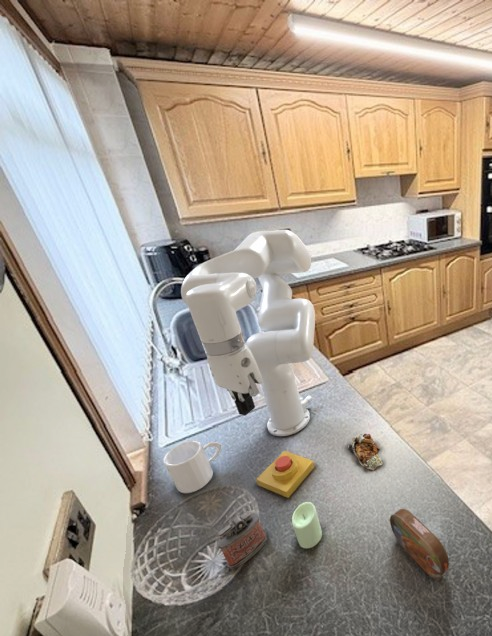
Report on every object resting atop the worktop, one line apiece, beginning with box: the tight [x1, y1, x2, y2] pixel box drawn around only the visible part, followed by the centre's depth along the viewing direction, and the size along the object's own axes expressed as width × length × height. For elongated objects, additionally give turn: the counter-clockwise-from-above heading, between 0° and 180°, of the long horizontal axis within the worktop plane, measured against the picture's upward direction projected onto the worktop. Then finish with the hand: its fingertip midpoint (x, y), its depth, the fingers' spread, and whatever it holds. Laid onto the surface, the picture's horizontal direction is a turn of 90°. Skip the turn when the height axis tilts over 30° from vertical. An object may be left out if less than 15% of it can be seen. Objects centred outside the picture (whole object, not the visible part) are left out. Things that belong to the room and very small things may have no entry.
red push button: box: [275, 456, 292, 472], centre depth 88 cm, size 4×4×2 cm
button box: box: [255, 450, 316, 499], centre depth 90 cm, size 10×10×4 cm
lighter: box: [216, 510, 268, 570], centre depth 71 cm, size 8×3×10 cm, turn 141°
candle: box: [291, 501, 323, 549], centre depth 74 cm, size 5×5×8 cm
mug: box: [162, 440, 222, 494], centre depth 89 cm, size 8×12×10 cm
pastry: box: [347, 433, 384, 471], centre depth 95 cm, size 7×12×4 cm, turn 39°
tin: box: [389, 508, 450, 580], centre depth 70 cm, size 15×3×8 cm, turn 45°
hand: (247, 410), depth 81 cm, fingers closed
